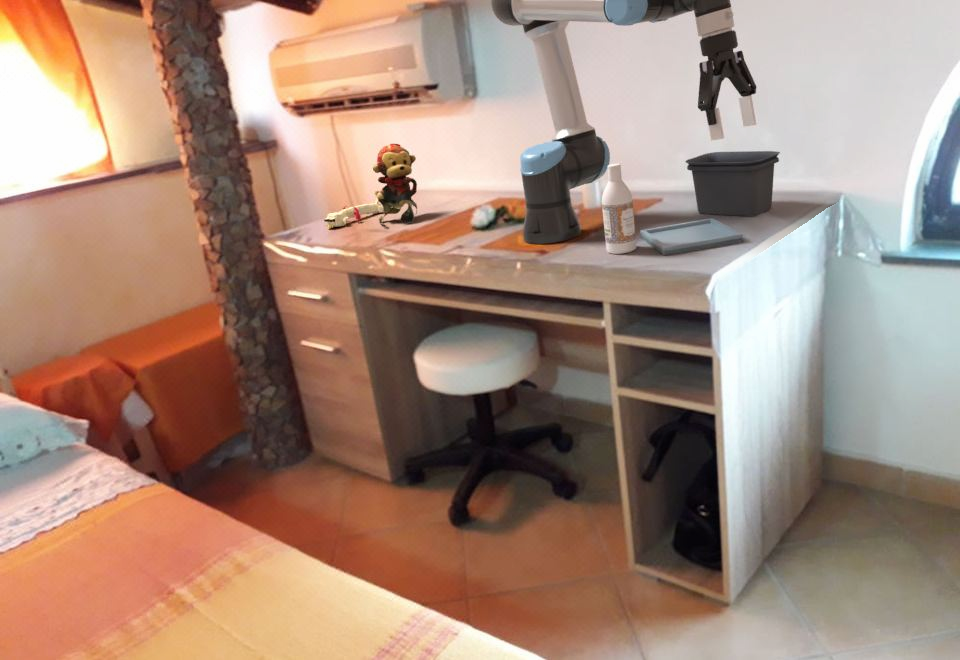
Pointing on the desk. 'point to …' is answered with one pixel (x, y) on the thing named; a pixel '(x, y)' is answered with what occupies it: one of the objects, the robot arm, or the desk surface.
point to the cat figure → (352, 213)
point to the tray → (690, 236)
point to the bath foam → (618, 214)
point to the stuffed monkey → (396, 181)
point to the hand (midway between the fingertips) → (734, 132)
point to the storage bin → (734, 182)
